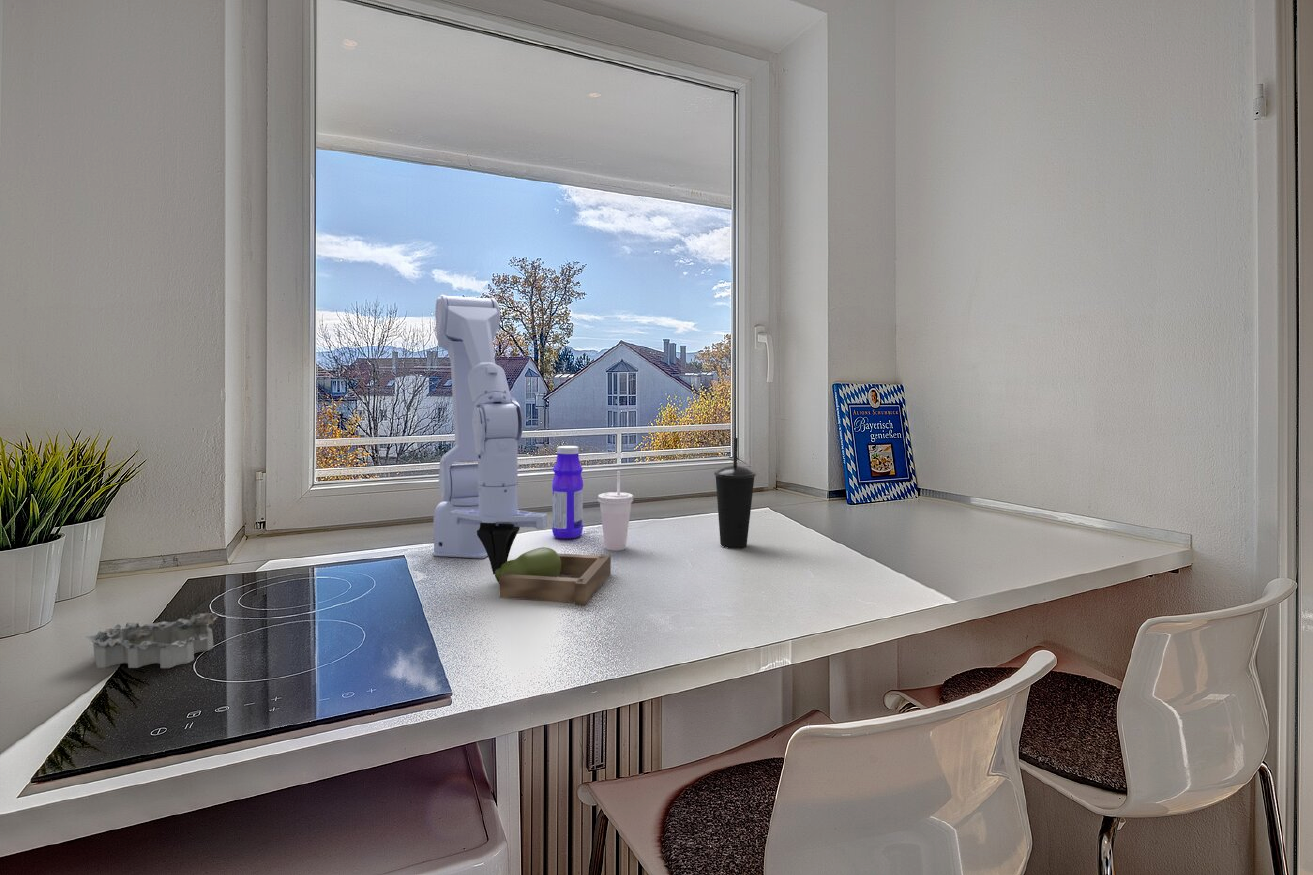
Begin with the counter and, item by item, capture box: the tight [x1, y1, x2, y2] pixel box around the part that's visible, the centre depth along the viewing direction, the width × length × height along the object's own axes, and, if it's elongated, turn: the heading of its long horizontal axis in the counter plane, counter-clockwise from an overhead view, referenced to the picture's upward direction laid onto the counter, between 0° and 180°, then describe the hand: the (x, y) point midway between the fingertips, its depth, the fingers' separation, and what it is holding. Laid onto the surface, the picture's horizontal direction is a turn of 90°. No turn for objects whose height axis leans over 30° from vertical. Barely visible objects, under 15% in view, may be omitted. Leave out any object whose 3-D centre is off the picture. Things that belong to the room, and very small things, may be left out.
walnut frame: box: [498, 552, 612, 606], centre depth 102 cm, size 13×15×3 cm
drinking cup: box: [713, 437, 757, 549], centre depth 125 cm, size 8×8×20 cm
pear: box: [494, 547, 561, 583], centre depth 102 cm, size 6×5×10 cm
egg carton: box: [84, 612, 218, 669], centre depth 76 cm, size 11×8×4 cm
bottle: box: [551, 445, 584, 540], centre depth 132 cm, size 7×6×17 cm
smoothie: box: [597, 470, 634, 552], centre depth 123 cm, size 6×6×14 cm
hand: (499, 572), depth 103 cm, fingers closed
